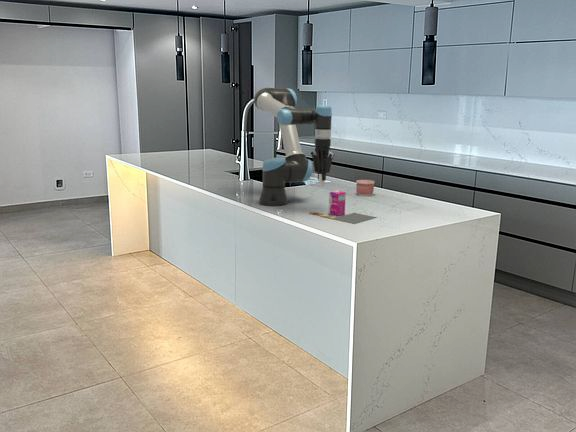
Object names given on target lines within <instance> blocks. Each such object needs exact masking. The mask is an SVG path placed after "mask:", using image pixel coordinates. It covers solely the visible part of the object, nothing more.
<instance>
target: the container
mask: <svg viewBox="0 0 576 432" xmlns="http://www.w3.org/2000/svg"><path fill="white" fill-rule="evenodd" d="M355 182H356V183H355V184H356V190H355V191H356V193H357V195H358V196H360V197H371V196H372V194H374V189H375V183H376V181H374V180H371V179H358V180H356V181H355Z"/></svg>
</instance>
